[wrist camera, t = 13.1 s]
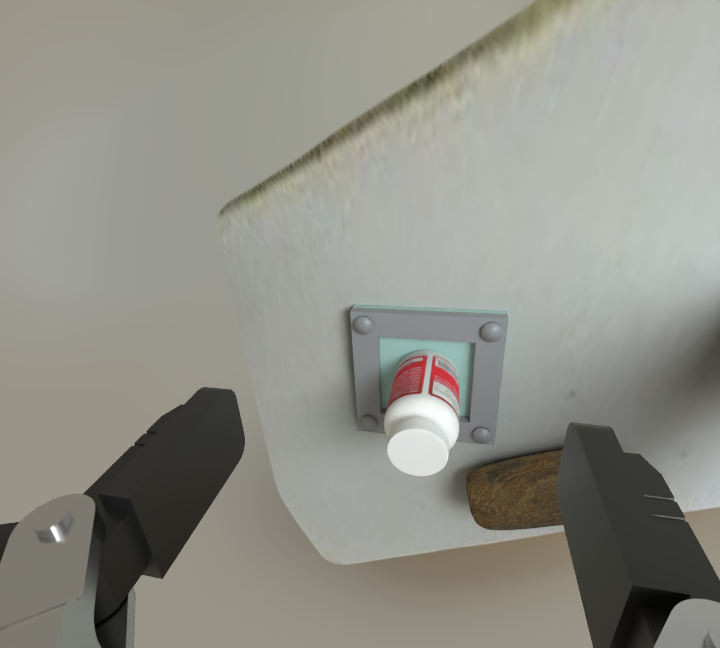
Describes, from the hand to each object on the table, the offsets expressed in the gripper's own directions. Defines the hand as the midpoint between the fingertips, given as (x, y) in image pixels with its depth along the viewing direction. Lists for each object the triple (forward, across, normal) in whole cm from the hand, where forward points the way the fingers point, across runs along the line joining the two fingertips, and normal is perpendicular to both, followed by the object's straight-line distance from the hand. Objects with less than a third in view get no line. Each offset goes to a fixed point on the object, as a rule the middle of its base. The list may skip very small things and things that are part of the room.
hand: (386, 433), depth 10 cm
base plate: (+28, +1, +16) cm, 32 cm away
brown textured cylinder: (+28, -11, +26) cm, 40 cm away
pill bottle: (+28, +1, +16) cm, 32 cm away
